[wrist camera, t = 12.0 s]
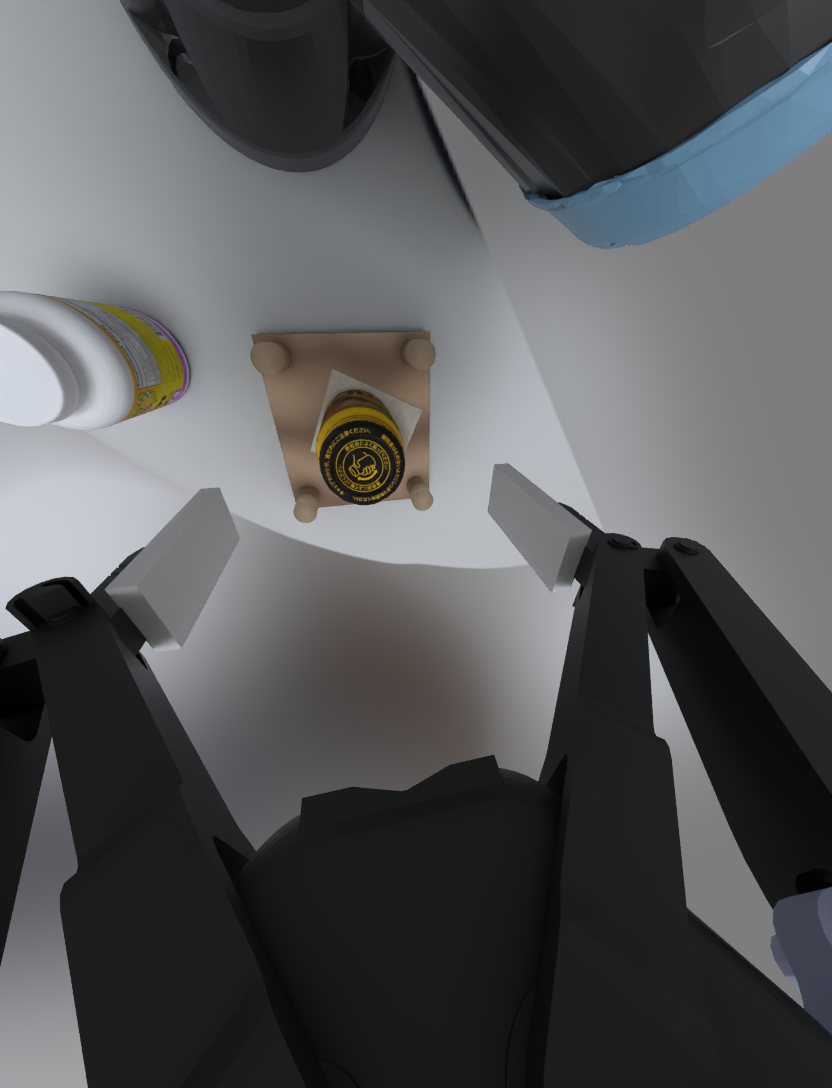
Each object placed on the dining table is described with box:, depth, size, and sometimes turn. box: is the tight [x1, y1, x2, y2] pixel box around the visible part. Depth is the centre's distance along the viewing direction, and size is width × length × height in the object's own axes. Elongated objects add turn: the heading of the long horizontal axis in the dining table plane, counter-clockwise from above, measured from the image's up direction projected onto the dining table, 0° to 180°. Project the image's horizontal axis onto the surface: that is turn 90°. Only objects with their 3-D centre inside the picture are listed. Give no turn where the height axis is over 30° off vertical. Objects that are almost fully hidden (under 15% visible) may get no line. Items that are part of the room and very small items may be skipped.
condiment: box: [311, 369, 422, 505], centre depth 24 cm, size 7×8×12 cm
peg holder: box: [251, 331, 435, 523], centre depth 28 cm, size 15×14×6 cm
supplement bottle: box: [0, 291, 189, 430], centre depth 19 cm, size 7×7×13 cm
